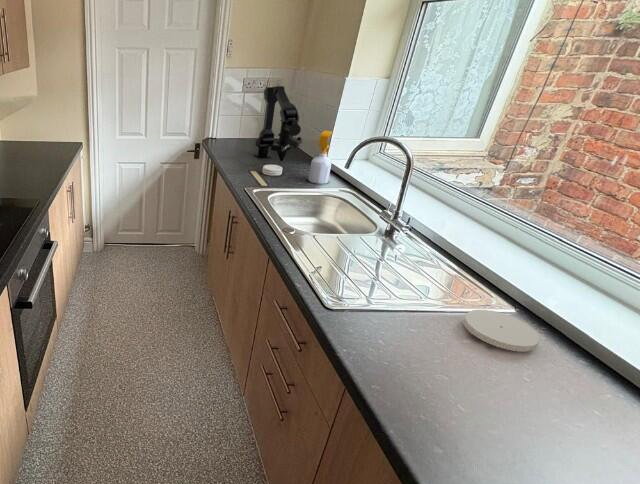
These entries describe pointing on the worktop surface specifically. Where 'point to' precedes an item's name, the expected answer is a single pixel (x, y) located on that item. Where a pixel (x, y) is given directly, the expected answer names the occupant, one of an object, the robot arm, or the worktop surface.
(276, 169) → the white round container
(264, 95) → the robot arm
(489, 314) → the plastic lid
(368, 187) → the worktop surface
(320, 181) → the soap bottle
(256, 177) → the strip
